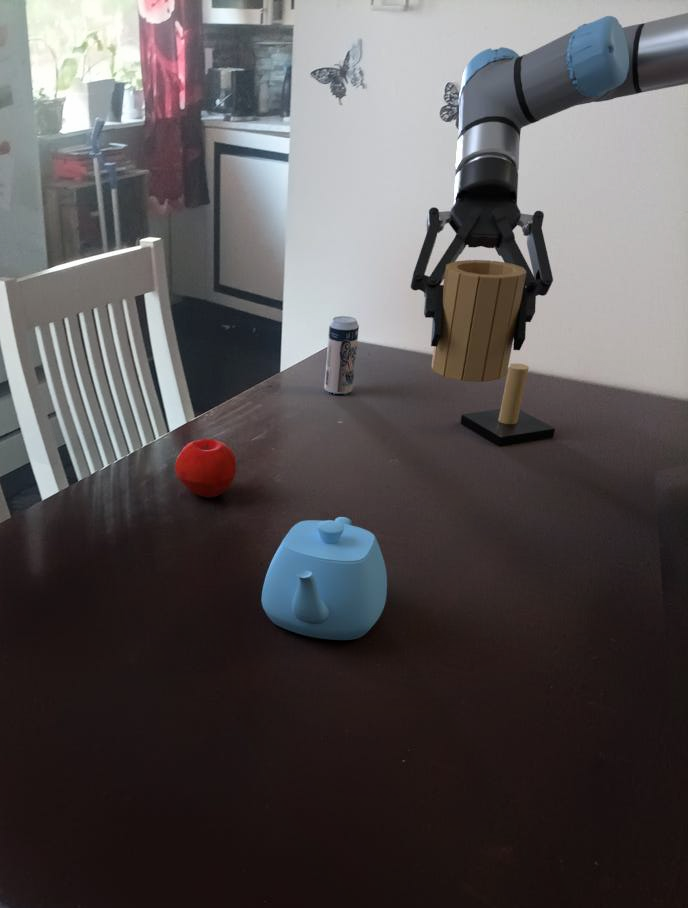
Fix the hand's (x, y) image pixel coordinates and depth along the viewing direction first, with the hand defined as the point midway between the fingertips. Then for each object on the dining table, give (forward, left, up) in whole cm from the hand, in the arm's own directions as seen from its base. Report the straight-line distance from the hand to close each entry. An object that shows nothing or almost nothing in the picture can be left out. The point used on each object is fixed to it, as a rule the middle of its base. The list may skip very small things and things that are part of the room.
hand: (477, 342), depth 107 cm
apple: (+13, +29, -21) cm, 38 cm away
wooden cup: (+3, -2, -4) cm, 5 cm away
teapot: (-20, +29, -21) cm, 41 cm away
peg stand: (+18, -23, -21) cm, 36 cm away
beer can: (+43, -7, -21) cm, 48 cm away
